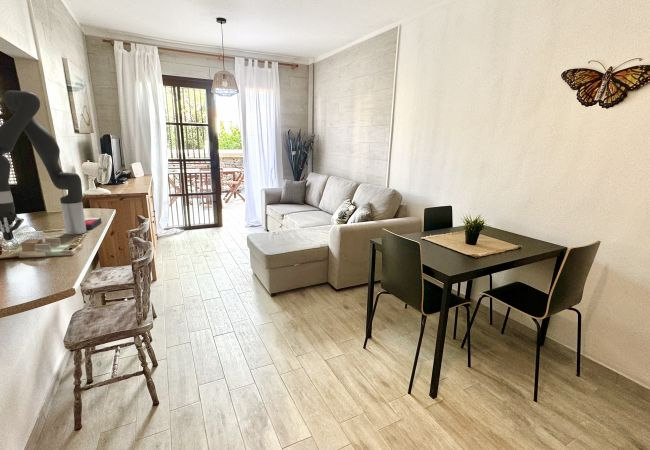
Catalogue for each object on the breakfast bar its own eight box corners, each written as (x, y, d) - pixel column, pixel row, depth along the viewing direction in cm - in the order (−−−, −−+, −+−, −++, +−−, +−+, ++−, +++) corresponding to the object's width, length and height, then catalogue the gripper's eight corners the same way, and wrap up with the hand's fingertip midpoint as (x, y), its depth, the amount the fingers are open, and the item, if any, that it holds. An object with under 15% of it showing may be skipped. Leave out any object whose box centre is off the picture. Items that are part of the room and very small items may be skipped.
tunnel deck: (31, 250, 150) (29, 239, 149) (83, 247, 156) (81, 237, 155) (19, 257, 141) (16, 245, 139) (74, 254, 147) (72, 243, 145)
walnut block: (29, 247, 148) (27, 239, 147) (44, 247, 149) (42, 238, 148) (22, 251, 143) (20, 243, 142) (37, 250, 144) (35, 242, 143)
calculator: (68, 224, 182) (80, 217, 195) (70, 231, 183) (81, 223, 197) (91, 224, 185) (100, 216, 198) (92, 231, 186) (102, 223, 200)
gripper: (25, 199, 143) (31, 237, 147) (-13, 200, 139) (-5, 238, 144) (14, 202, 136) (22, 241, 140) (-25, 203, 132) (-16, 243, 137)
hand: (8, 239), depth 142 cm, fingers closed
